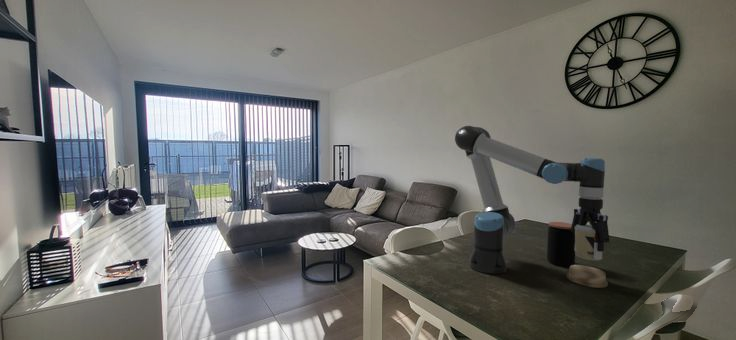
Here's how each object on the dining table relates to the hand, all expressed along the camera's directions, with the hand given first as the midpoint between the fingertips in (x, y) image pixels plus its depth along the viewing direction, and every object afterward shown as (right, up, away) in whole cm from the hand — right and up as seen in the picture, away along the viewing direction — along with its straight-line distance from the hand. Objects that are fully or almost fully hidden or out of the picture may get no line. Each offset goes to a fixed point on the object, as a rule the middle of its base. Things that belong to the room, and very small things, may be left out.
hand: (587, 254), depth 114 cm
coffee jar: (+2, -9, +19) cm, 21 cm away
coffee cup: (0, -1, 0) cm, 1 cm away
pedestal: (0, -10, +1) cm, 10 cm away
